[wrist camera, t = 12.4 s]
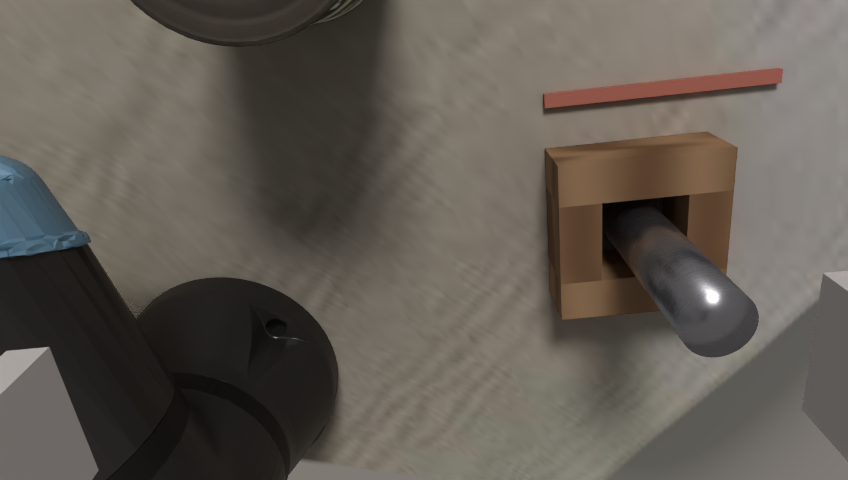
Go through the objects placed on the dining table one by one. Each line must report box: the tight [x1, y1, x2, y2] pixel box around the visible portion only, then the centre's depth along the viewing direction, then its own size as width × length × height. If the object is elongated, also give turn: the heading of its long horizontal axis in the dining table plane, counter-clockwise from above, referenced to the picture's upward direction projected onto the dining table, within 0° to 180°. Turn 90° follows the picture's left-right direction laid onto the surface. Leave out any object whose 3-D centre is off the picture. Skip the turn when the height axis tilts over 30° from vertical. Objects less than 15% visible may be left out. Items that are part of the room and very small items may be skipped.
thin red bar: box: [543, 68, 783, 108], centre depth 37 cm, size 14×1×1 cm, turn 96°
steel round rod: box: [602, 199, 759, 357], centre depth 34 cm, size 3×3×14 cm
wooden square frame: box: [545, 132, 738, 320], centre depth 38 cm, size 10×10×4 cm
